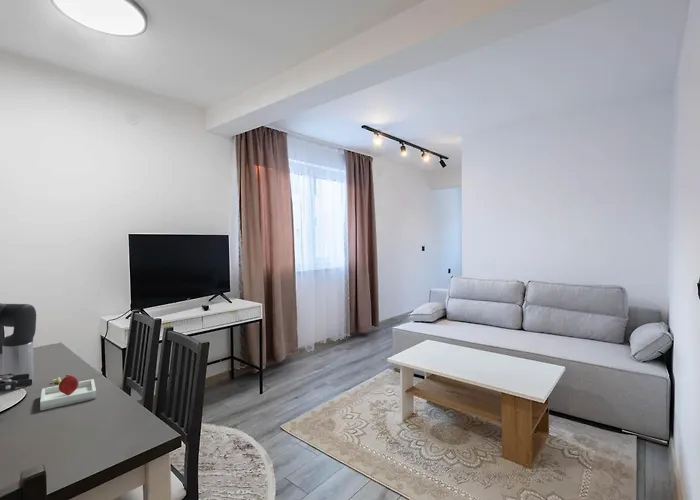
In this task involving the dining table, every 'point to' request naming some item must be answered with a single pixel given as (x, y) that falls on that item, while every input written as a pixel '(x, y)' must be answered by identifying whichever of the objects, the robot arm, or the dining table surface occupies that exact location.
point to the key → (57, 380)
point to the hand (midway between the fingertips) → (30, 379)
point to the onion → (68, 384)
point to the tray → (56, 398)
